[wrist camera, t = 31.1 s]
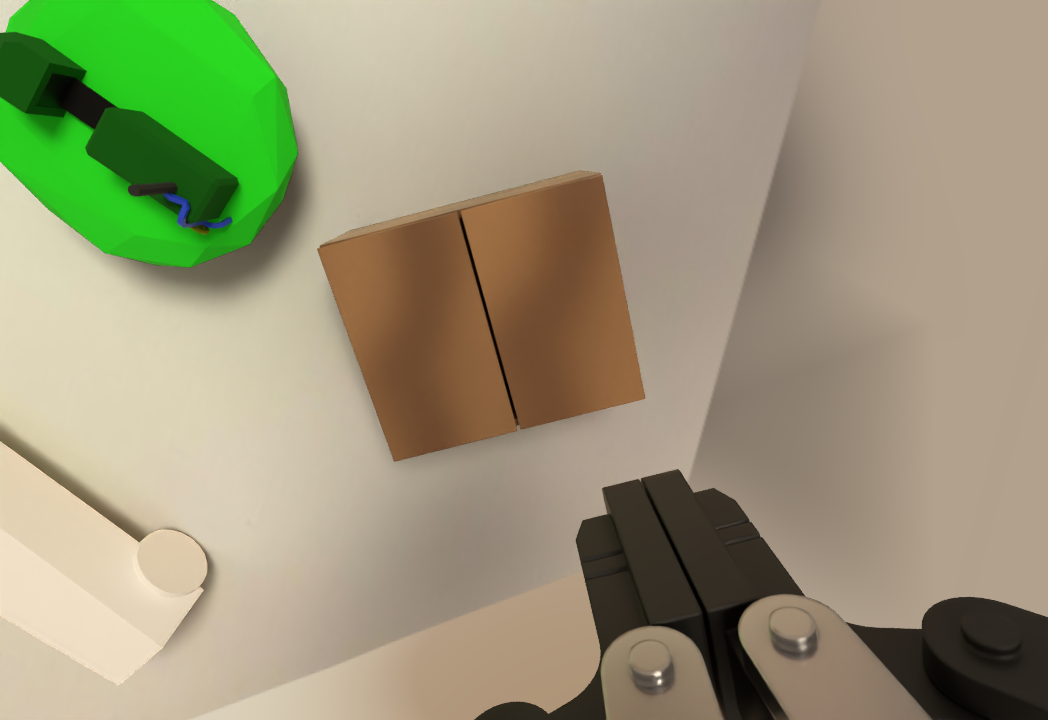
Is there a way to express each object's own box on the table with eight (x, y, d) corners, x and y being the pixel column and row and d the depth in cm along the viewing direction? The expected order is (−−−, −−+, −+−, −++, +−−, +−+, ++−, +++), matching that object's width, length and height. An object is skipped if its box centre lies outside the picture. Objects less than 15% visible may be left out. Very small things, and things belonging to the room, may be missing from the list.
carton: (580, 170, 31) (603, 172, 25) (618, 356, 35) (647, 399, 29) (348, 230, 32) (314, 248, 25) (409, 409, 35) (393, 463, 29)
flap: (600, 174, 25) (602, 174, 25) (644, 396, 29) (645, 398, 29) (460, 210, 26) (460, 211, 25) (520, 427, 29) (520, 429, 29)
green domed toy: (363, 108, 30) (296, 80, 19) (246, 291, 32) (131, 353, 22) (138, -67, 27) (-83, -211, 16) (29, 149, 29) (-222, 143, 19)
